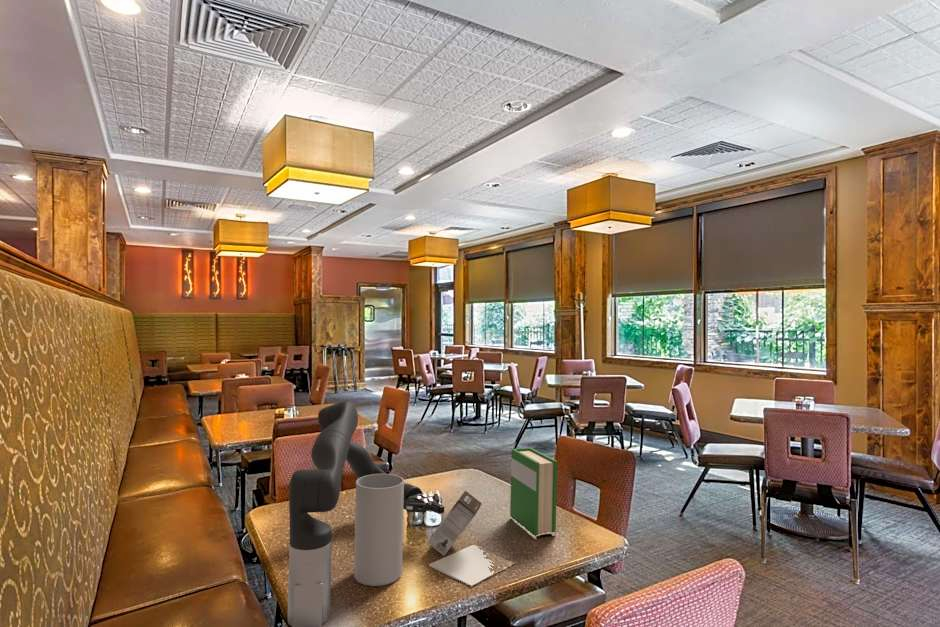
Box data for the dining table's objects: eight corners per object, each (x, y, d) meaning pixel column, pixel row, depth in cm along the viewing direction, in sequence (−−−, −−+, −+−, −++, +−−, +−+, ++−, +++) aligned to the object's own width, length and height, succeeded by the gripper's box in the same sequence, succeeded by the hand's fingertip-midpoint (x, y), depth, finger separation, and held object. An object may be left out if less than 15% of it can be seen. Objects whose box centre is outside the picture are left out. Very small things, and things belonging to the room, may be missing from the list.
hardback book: (555, 536, 165) (557, 460, 166) (535, 539, 163) (536, 462, 163) (529, 516, 182) (530, 447, 182) (510, 519, 179) (511, 449, 179)
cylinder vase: (380, 559, 147) (382, 471, 147) (411, 574, 139) (413, 480, 139) (343, 576, 137) (346, 481, 137) (375, 593, 129) (377, 492, 130)
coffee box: (435, 530, 160) (465, 489, 158) (452, 543, 158) (482, 503, 157) (427, 542, 151) (458, 499, 149) (444, 557, 149) (476, 514, 148)
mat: (515, 564, 146) (515, 562, 146) (471, 587, 133) (471, 585, 133) (473, 546, 157) (473, 544, 157) (429, 566, 144) (429, 564, 144)
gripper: (388, 488, 161) (426, 502, 149) (420, 479, 170) (458, 492, 158) (387, 512, 160) (425, 529, 149) (419, 502, 170) (457, 517, 158)
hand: (442, 510), depth 154 cm, fingers closed
